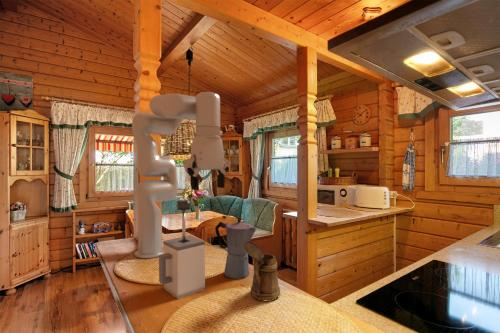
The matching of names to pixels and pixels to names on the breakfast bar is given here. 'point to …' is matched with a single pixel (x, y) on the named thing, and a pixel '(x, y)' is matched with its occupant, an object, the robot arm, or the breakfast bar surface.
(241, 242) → the moka pot
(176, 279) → the carafe
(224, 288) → the breakfast bar surface
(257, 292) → the wooden mug
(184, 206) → the plunger
